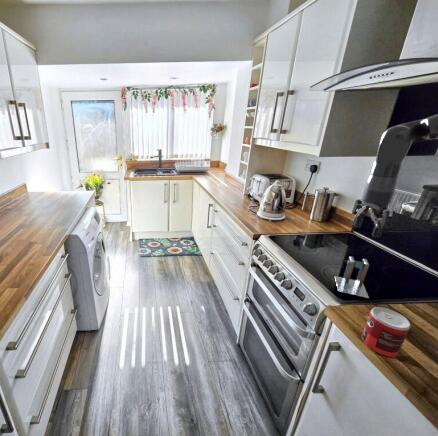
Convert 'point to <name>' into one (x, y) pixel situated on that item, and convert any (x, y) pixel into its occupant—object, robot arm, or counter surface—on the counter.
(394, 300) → the counter surface
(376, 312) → the canned food
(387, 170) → the robot arm
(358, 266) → the lever
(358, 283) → the bracket
